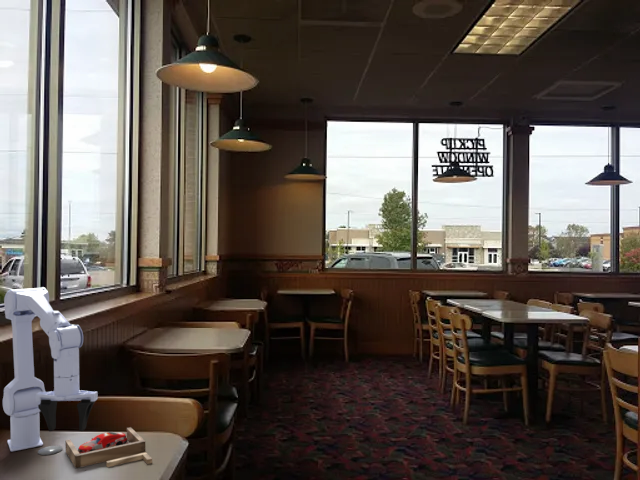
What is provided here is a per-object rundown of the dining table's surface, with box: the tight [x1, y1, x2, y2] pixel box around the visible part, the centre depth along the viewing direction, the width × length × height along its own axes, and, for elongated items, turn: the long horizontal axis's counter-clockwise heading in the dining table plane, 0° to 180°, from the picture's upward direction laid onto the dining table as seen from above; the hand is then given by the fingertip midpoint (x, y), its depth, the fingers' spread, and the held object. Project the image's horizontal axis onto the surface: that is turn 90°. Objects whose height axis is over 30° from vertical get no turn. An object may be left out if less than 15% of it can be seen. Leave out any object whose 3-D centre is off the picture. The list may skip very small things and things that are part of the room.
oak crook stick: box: [105, 451, 153, 468], centre depth 142 cm, size 10×5×1 cm, turn 124°
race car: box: [77, 431, 128, 454], centre depth 152 cm, size 13×5×4 cm, turn 137°
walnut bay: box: [64, 426, 146, 469], centre depth 150 cm, size 14×17×3 cm
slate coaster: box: [37, 445, 64, 456], centre depth 151 cm, size 6×6×1 cm
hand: (67, 429), depth 138 cm, fingers open, 7 cm apart
